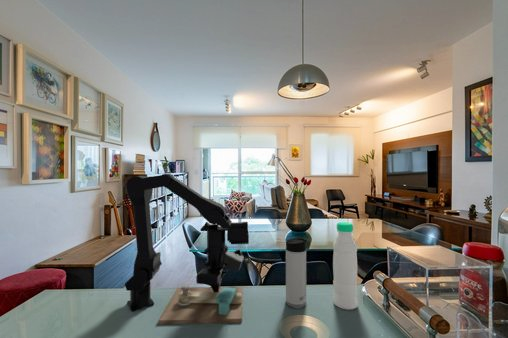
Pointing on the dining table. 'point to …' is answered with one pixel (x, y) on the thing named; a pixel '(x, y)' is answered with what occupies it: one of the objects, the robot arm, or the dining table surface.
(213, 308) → the base board
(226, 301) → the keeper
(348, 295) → the water bottle
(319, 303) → the dining table surface
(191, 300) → the link
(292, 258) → the travel mug
